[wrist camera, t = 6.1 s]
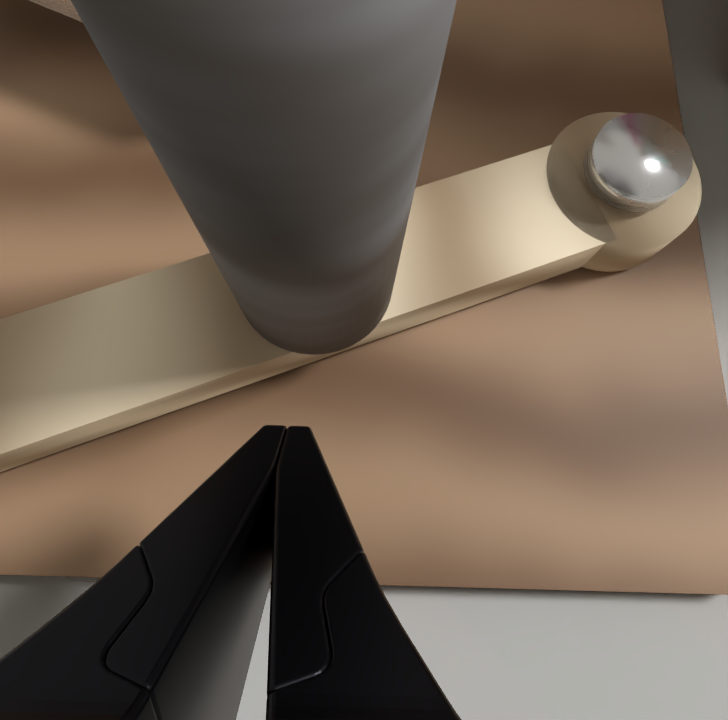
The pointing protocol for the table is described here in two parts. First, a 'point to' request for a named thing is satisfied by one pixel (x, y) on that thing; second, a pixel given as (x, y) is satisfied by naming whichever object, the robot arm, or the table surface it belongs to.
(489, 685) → the table surface
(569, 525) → the walnut board
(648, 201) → the steel keeper
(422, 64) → the link
